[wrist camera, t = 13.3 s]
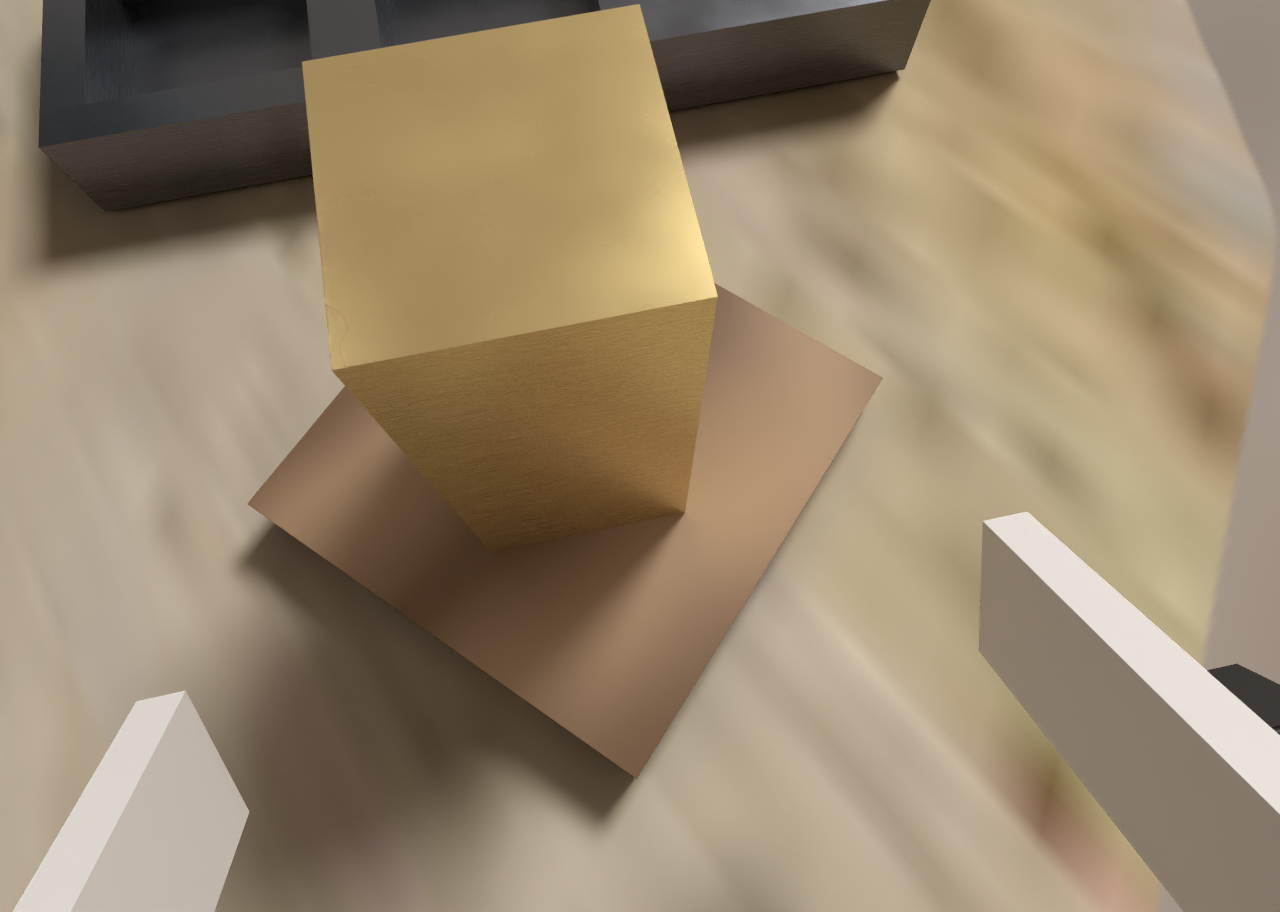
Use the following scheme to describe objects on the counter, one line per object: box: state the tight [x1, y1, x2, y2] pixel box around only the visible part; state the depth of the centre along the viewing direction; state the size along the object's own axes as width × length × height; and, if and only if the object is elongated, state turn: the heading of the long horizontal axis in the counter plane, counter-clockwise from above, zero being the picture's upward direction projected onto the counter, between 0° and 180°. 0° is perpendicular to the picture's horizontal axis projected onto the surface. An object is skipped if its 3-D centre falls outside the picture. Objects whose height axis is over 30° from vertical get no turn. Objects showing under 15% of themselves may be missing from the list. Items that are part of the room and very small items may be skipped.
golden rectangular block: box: [302, 4, 718, 552], centre depth 17 cm, size 5×5×11 cm
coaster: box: [248, 283, 883, 779], centre depth 23 cm, size 12×12×2 cm
